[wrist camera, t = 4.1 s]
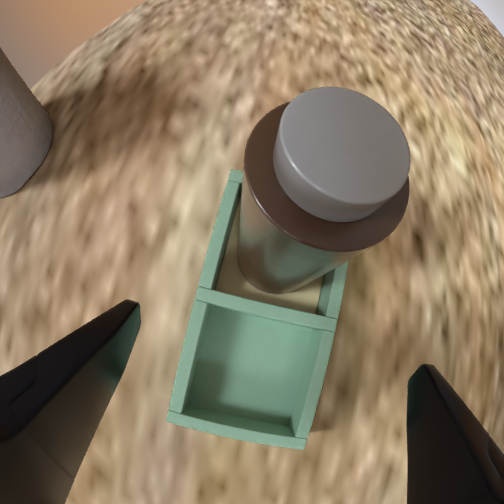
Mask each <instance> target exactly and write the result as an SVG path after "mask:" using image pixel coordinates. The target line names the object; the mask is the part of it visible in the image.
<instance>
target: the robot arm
mask: <svg viewBox="0 0 504 504" xmlns="http://www.w3.org/2000/svg"><path fill="white" fill-rule="evenodd" d="M140 325H141V315H140V304H139V303H138V302H135V301H132V300H128V299H127V300H124V301H123V302H121V303H119V304H118V305H116V306H114V307H113V308H111V309H109V310H108V311H106V312H104V313H103V314H101V315H100V316H98V317H96V318H95V319H93V320H91V321H90V322H88V323H87V324H85V325H83V326H82V327H80V328H79V329H77V330H75V331H74V332H72V333H71V334H69V335H67V336H66V337H64V338H63V339H61V340H59V341H58V342H56V343H55V344H53V345H51V346H50V347H48V348H47V349H45V350H44V351H42V352H40V353H39V354H38V355H37V356H34V357H32V358H31V359H29V360H28V361H26V362H24V363H23V364H21V365H19V366H18V367H16V368H14V369H13V370H11V371H9V372H7V373H5V374H3V375H1V376H0V504H65V502H66V499H67V497H68V494H69V492H70V490H71V487H72V485H73V482H74V479H75V477H76V475H77V472H78V470H79V468H80V465H81V463H82V461H83V458H84V456H85V454H86V452H87V449H88V447H89V445H90V443H91V440H92V438H93V436H94V434H95V432H96V429H97V427H98V425H99V423H100V421H101V419H102V416H103V414H104V412H105V410H106V408H107V406H108V404H109V402H110V399H111V397H112V395H113V393H114V391H115V389H116V387H117V385H118V383H119V381H120V379H121V377H122V375H123V373H124V370H125V368H126V365H127V362H128V359H129V356H130V354H131V351H132V348H133V345H134V343H135V340H136V337H137V335H138V332H139V329H140ZM407 453H408V483H407V504H504V454H503V453H502V451H501V450H500V449H499V447H498V446H497V445H496V444H495V442H494V441H493V439H492V438H491V437H489V434H488V433H487V431H486V430H485V429H484V428H483V426H482V425H481V424H480V422H479V421H478V420H477V418H476V417H475V416H474V415H473V413H472V412H471V411H470V409H469V408H468V407H467V406H466V404H465V403H464V402H463V401H462V399H461V398H460V397H459V396H458V394H457V393H456V392H455V391H454V389H453V388H452V387H451V386H450V384H449V383H448V382H447V381H446V380H445V378H444V377H443V376H442V375H441V374H440V372H439V371H438V370H437V369H436V368H435V366H433V365H431V364H422V365H421V366H420V367H419V368H418V369H417V370H416V371H415V373H414V374H413V375H412V376H411V377H410V379H409V381H408V397H407Z"/></svg>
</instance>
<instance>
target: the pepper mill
mask: <svg viewBox="0 0 504 504" xmlns="http://www.w3.org/2000/svg"><path fill="white" fill-rule="evenodd" d="M409 169H410V151H409V146H408V143H407V140H406V137H405V135H404V133H403V131H402V129H401V127H400V126H399V124H398V123H397V122H396V120H395V119H394V118H393V117H392V115H391V114H390V113H389V112H388V111H387V110H386V109H385V108H383V107H382V106H381V105H380V104H378V103H377V102H375V101H374V100H372V99H371V98H369V97H367V96H365V95H363V94H361V93H358V92H356V91H353V90H349V89H345V88H339V87H320V88H315V89H311V90H308V91H306V92H304V93H302V94H300V95H298V96H297V97H296V98H295V99H293V100H292V101H291V102H287V103H285V104H282V105H280V106H278V107H276V108H275V109H273V110H271V111H270V112H269V113H268V114H266V115H265V116H264V117H263V118H262V119H261V120H260V121H259V122H258V123H257V124H256V126H255V127H254V129H253V130H252V132H251V134H250V136H249V139H248V141H247V145H246V148H245V155H244V167H243V180H242V194H241V209H240V223H239V238H238V253H237V255H238V264H239V267H240V270H241V272H242V274H243V276H244V277H245V279H246V280H247V281H248V282H249V283H250V284H251V285H252V286H254V287H255V288H256V289H258V290H260V291H262V292H265V293H268V294H275V295H280V294H287V293H290V292H293V291H295V290H297V289H299V288H301V287H302V286H304V285H306V284H308V283H310V282H312V281H313V280H315V279H317V278H319V277H321V276H322V275H324V274H326V273H328V272H330V271H331V270H333V269H335V268H337V267H338V266H340V265H342V264H344V263H345V262H347V261H349V260H351V259H352V258H354V257H356V256H358V255H359V254H361V253H363V252H364V251H366V250H368V249H370V248H371V247H373V246H375V245H376V244H378V243H380V242H381V241H383V240H384V239H385V238H387V237H388V236H389V235H390V234H391V233H392V232H393V231H394V230H395V229H396V227H397V226H398V225H399V223H400V222H401V220H402V218H403V216H404V213H405V211H406V207H407V204H408V199H409V176H408V173H409Z"/></svg>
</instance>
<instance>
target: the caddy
mask: <svg viewBox="0 0 504 504" xmlns="http://www.w3.org/2000/svg"><path fill="white" fill-rule="evenodd" d="M242 180H243V172H241V171H237V170H232V169H231V171H230V174H229V177H228V181H227V184H226V188H225V191H224V194H223V198H222V201H221V205H220V208H219V212H218V215H217V218H216V222H215V226H214V229H213V233H212V236H211V240H210V243H209V247H208V251H207V254H206V258H205V262H204V265H203V269H202V273H201V277H200V280H199V284H198V285H199V287H198V288H197V292H196V296H195V299H196V300H194V303H193V307H192V311H191V315H190V319H189V323H188V327H187V331H186V335H185V340H184V344H183V348H182V352H181V356H180V361H179V365H178V369H177V373H176V378H175V382H174V387H173V391H172V396H171V400H170V405H169V411H168V414H167V419H166V421H167V422H170V423H173V424H176V425H180V426H184V427H187V428H191V429H195V430H199V431H203V432H207V433H211V434H215V435H219V436H224V437H228V438H233V439H238V440H243V441H249V442H254V443H260V444H266V445H272V446H279V447H286V448H294V449H302V450H304V449H305V445H306V442H307V438H308V436H309V432H310V429H311V426H312V422H313V419H314V415H315V412H316V408H317V404H318V401H319V397H320V393H321V389H322V386H323V382H324V378H325V374H326V370H327V365H328V361H329V357H330V353H331V348H332V344H333V339H334V335H335V332H334V331H335V330H336V325H337V318H338V316H339V311H340V306H341V301H342V296H343V291H344V285H345V279H346V274H347V268H348V262H349V261H347V262H345V263H344V264H342V265H340V266H338V267H337V268H335V269H333V270H331V271H330V272H328V273H326V274H324V275H322V276H321V277H319V278H317V279H315V280H313V281H312V282H310V283H308V284H306V285H304V286H302V287H301V288H299V289H297V290H295V291H293V292H290V293H287V294H280V295H275V294H268V293H265V292H262V291H260V290H258V289H256V288H255V287H254V286H252V285H251V284H250V283H249V282H248V281H247V280H246V279H245V277H244V276H243V274H242V272H241V270H240V267H239V264H238V255H237V253H238V238H239V223H240V209H241V194H242Z"/></svg>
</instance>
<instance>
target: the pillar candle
mask: <svg viewBox="0 0 504 504" xmlns="http://www.w3.org/2000/svg"><path fill="white" fill-rule="evenodd" d="M52 135H53V127H52V123H51V120H50V118H49V114H48V112H47V111H46V110H45V109H44V107H43V106H42V105H41V104H40V102H39V101H38V100H37V99H36V97H35V96H34V95H33V93H32V92H31V90H30V89H29V88H28V87H27V85H26V83H25V82H24V81H23V79H22V78H21V77H20V75H19V74H18V73H17V71H16V70H15V68H14V67H13V66H12V64H11V63H10V61H9V60H8V58H7V57H6V56H5V54H4V52H3V51H2V49H1V48H0V198H1V197H6V196H8V195H10V194H12V193H15V192H16V191H18V190H19V189H20V188H21V187H22V186H23V185H24V184H25V182H26V181H27V180H28V179H29V178H30V177H31V175H32V174H33V173H34V172H35V171H36V169H37V168H38V167H39V166H40V165H41V163H42V162H43V160H44V159H45V157H46V155H47V153H48V151H49V147H50V144H51V140H52Z"/></svg>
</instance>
